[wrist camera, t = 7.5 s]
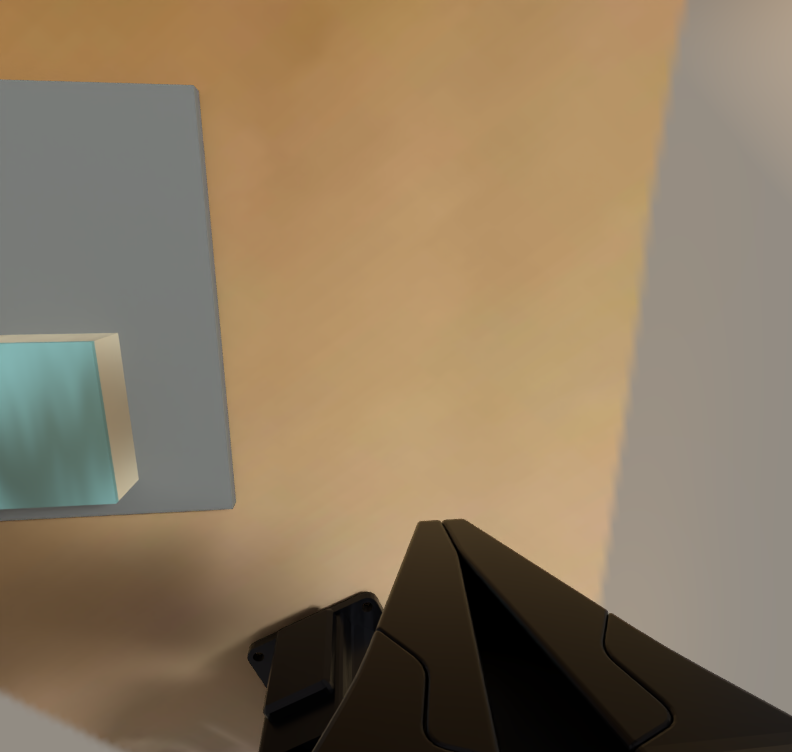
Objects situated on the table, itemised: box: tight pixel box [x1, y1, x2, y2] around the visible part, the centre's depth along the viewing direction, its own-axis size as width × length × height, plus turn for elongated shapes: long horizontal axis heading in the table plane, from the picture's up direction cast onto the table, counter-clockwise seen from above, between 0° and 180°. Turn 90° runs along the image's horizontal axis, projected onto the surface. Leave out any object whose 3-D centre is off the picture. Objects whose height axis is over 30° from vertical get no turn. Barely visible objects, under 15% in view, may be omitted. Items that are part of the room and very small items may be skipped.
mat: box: [0, 80, 236, 521], centre depth 18 cm, size 16×12×1 cm
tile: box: [0, 333, 139, 509], centre depth 18 cm, size 6×2×8 cm
